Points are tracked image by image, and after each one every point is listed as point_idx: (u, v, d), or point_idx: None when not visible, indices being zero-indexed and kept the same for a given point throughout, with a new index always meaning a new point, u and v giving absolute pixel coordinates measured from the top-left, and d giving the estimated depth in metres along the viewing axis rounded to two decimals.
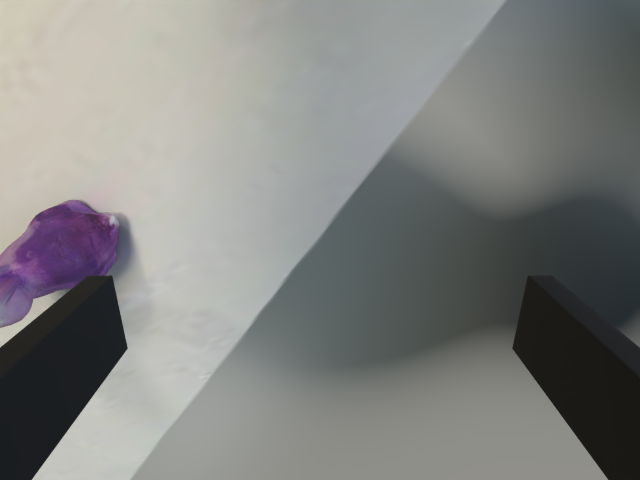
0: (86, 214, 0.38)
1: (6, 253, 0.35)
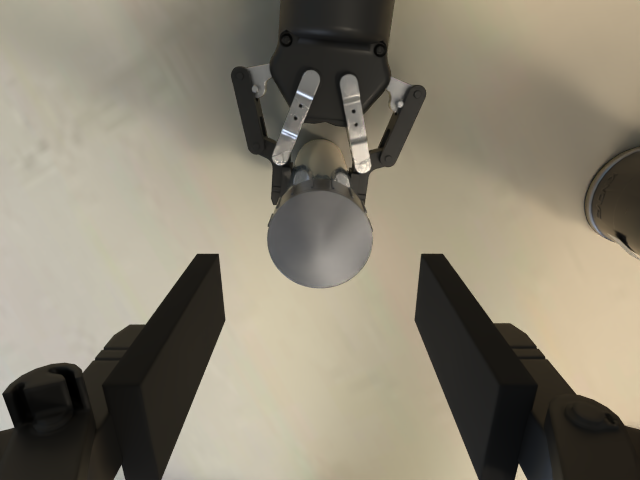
0: None
1: None
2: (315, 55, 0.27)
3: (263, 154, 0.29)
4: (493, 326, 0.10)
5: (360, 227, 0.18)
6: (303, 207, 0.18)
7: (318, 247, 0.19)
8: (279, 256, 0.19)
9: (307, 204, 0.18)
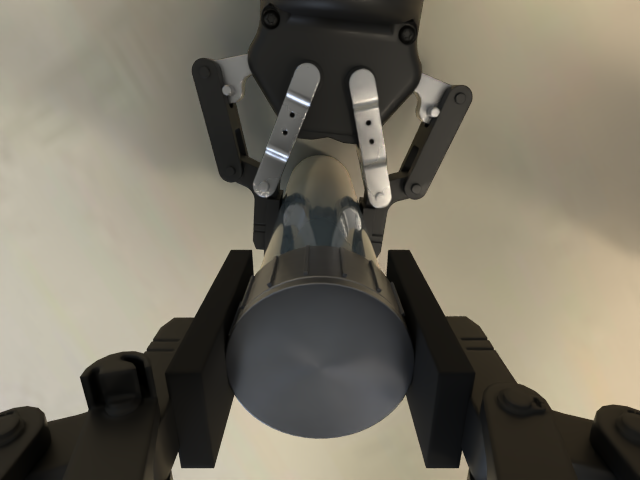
0: None
1: None
2: (313, 41, 0.18)
3: (241, 181, 0.21)
4: (444, 318, 0.10)
5: (394, 345, 0.10)
6: (289, 312, 0.10)
7: (317, 376, 0.10)
8: (247, 390, 0.11)
9: (297, 307, 0.10)
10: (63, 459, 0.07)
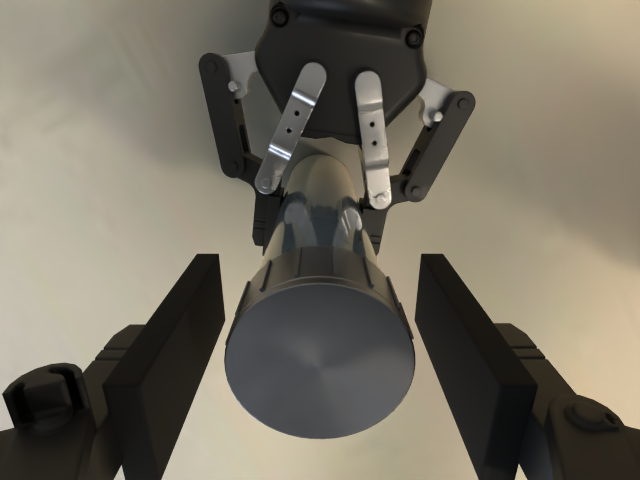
0: None
1: None
2: (321, 41, 0.18)
3: (243, 177, 0.21)
4: (493, 326, 0.10)
5: (314, 300, 0.10)
6: (249, 375, 0.10)
7: (329, 372, 0.10)
8: (324, 428, 0.11)
9: (246, 368, 0.10)
10: None
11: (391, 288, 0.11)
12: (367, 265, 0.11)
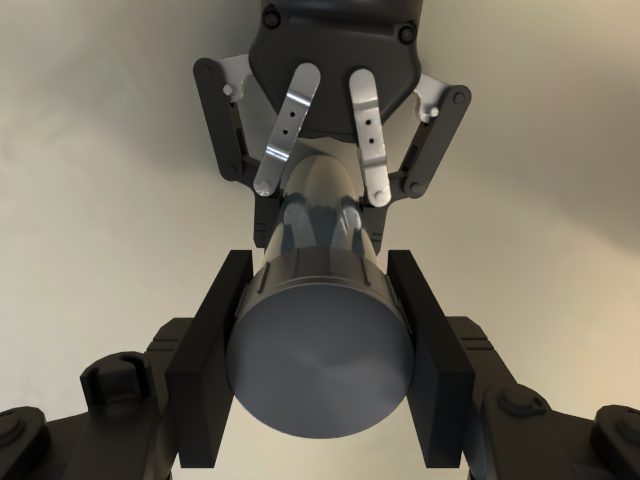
0: None
1: None
2: (314, 41, 0.18)
3: (242, 180, 0.21)
4: (444, 318, 0.10)
5: (311, 301, 0.10)
6: (250, 377, 0.10)
7: (330, 372, 0.10)
8: (328, 428, 0.11)
9: (246, 370, 0.10)
10: (63, 459, 0.07)
11: (389, 286, 0.11)
12: (364, 263, 0.11)
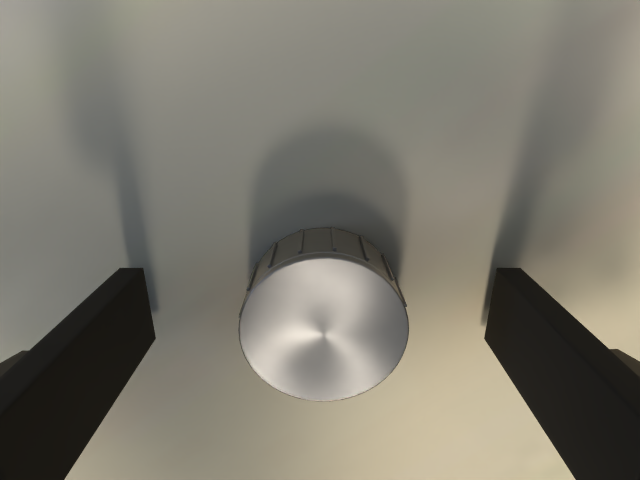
0: None
1: None
2: None
3: None
4: (615, 356, 0.09)
5: (316, 273, 0.11)
6: (261, 343, 0.12)
7: (332, 339, 0.12)
8: (330, 391, 0.12)
9: (258, 337, 0.12)
10: None
11: (385, 263, 0.12)
12: (363, 243, 0.12)
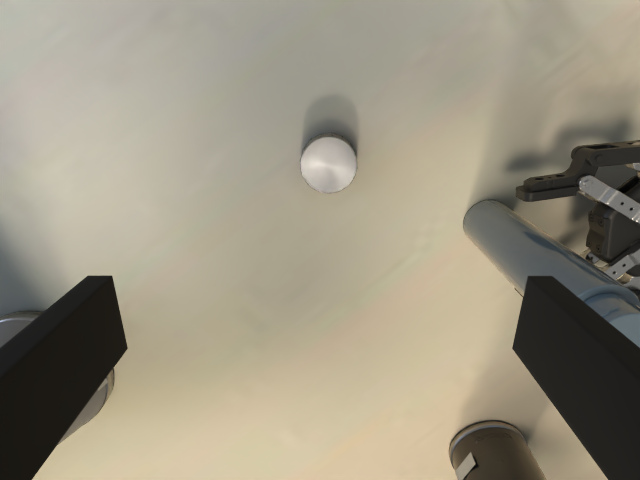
0: None
1: None
2: None
3: (584, 165, 0.30)
4: None
5: (326, 142, 0.34)
6: (308, 168, 0.35)
7: (331, 167, 0.35)
8: (331, 188, 0.35)
9: (307, 166, 0.35)
10: None
11: (350, 144, 0.35)
12: (342, 137, 0.35)
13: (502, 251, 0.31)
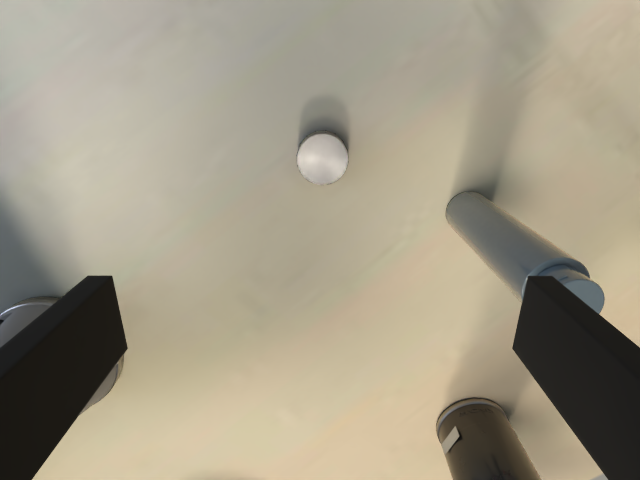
0: None
1: None
2: None
3: None
4: None
5: (320, 138, 0.37)
6: (303, 162, 0.38)
7: (325, 161, 0.38)
8: (324, 180, 0.39)
9: (302, 160, 0.38)
10: None
11: (342, 140, 0.39)
12: (335, 134, 0.39)
13: (477, 234, 0.34)
